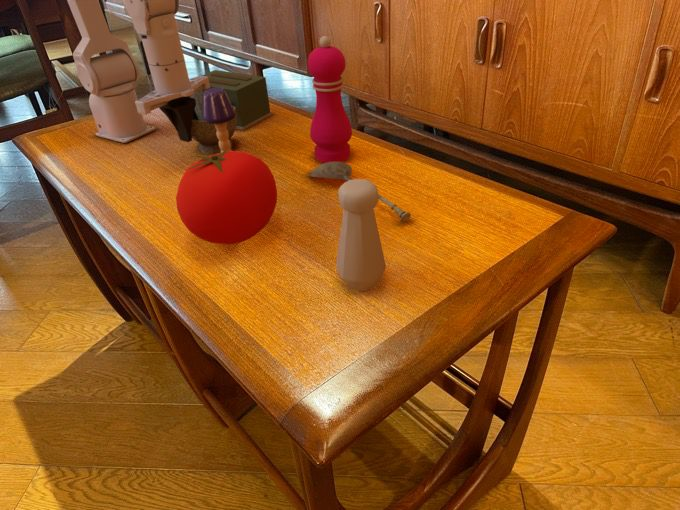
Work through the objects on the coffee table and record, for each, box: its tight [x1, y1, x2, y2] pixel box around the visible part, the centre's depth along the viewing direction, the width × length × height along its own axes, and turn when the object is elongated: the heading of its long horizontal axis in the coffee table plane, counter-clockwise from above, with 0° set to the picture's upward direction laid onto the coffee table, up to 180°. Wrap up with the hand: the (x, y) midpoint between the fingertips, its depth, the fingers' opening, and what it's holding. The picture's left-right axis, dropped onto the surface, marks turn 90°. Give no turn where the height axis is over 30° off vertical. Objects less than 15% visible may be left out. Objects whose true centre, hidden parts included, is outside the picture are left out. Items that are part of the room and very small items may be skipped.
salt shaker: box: [335, 178, 387, 293], centre depth 57 cm, size 6×6×13 cm
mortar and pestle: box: [190, 77, 237, 155], centre depth 92 cm, size 11×9×12 cm
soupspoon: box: [308, 161, 412, 224], centre depth 77 cm, size 22×3×7 cm
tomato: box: [175, 149, 278, 245], centre depth 67 cm, size 12×14×11 cm
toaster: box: [189, 69, 273, 131], centre depth 105 cm, size 14×11×8 cm
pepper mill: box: [307, 35, 353, 164], centre depth 83 cm, size 7×7×20 cm
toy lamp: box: [203, 88, 236, 153], centre depth 74 cm, size 5×5×17 cm
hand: (186, 140), depth 89 cm, fingers closed
